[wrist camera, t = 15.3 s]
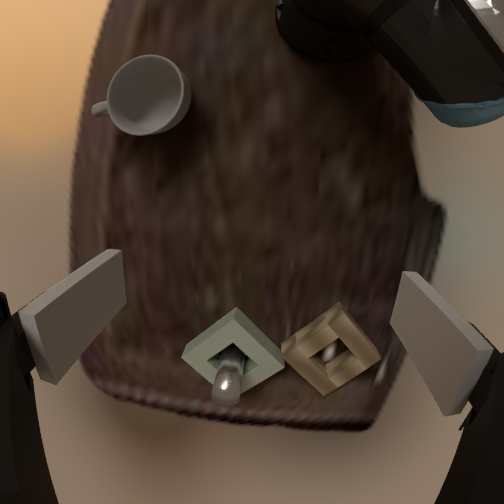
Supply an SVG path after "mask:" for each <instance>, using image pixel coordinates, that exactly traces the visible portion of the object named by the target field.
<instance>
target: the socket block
mask: <svg viewBox="0 0 504 504" xmlns="http://www.w3.org/2000/svg"><path fill="white" fill-rule="evenodd" d="M231 343H234V344H235V345H236V346H237V347H238V348H240V349H241V350H242V351H243V352H244V353H245V354H246V355H247V356H248V357H249V359H247V360H246V361H244V368H243V375H242V383H241V390H240V394H241V393H243V392H245V391H247V390H248V389H250V388H252V387H253V386H255V385H257V384H258V383H260V382H262V381H263V380H265V379H267V378H268V377H270V376H272V375H273V374H275V373H277V372H278V371H280V370H281V369H283V368H284V367H285V365H284V359H283V358H282V351H281V350H280V349H279V348H278V347H277V346H276V345H275V344H274V343H273V342H272V341H271V340H270V339H269V338H268V337H267V336H266V335H265V334H264V333H262V332H261V331H260V330H259V329H258V328H257V327H256V326H255V325H254V324H253V323H252V322H251V321H250V320H249V319H248V318H247V317H246V316H245V315H244V314H243V313H242V312H241V311H240V310H239V309H238V308H237V307H236V308H234V309H233V310H232V311H230V312H229V313H228V314H226V315H225V316H224V317H222V318H221V319H220V320H218V321H217V322H216V323H214V324H213V325H212V326H211V327H209V328H208V329H207V330H205V331H204V332H202V333H201V334H200V335H198V336H197V337H196V338H194V339H193V340H192V341H190V342H189V343H188V344H187V345H186V347H185V350H184V352H183V354H182V357H181V358H183V359H184V360H185V361H186V362H187V363H188V364H189V365H190V366H192V367H193V368H194V369H195V370H196V371H197V372H198V373H200V374H201V375H202V376H203V377H204V378H206V379H207V380H208V381H209V382H210V383H211V384H213V385H214V381H215V377H216V373H217V369H218V365H219V361H220V357H221V356H220V355H219V354H218V352H220V351H221V350H223V349H224V348H226V347H227V346H228V345H230V344H231Z"/></svg>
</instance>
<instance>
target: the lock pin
mask: <svg viewBox="0 0 504 504" xmlns="http://www.w3.org/2000/svg"><path fill="white" fill-rule="evenodd" d="M244 360H245V353H244V352H243V351H242V350H241V349H240V348H238V347H237V346H236V345H235V344H234V343H231V344H230V345H228V346H227V347H226V348H224V349H223V350H222V353H221V357H220V361H219V365H218V369H217V373H216V377H215V381H214V385H213V389H212V393H211V396H212V399H213V400H214V401H215V402H216V403H218V404H220V405H224V406H231V405H234V404H236V403H237V402H238V401H239V397H240V390H241V383H242V375H243V368H244Z"/></svg>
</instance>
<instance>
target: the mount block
mask: <svg viewBox="0 0 504 504" xmlns="http://www.w3.org/2000/svg"><path fill="white" fill-rule="evenodd" d="M337 338H340V339H341V340H342V341H343V343H344V344H345V345H346V346H347V347H348V348H349V349H348V350H346V351H345V352H343V353H342V354H341V355H339V356H338V357H336V358H335V359H333V360H332V361H330V362H329V363H327V364H325V363H324V362H323V361H322V360H321V359H320V358H319V357H318V356H317V355H316V354H315V353H317V352H318V351H320V350H321V349H323V348H324V347H326V346H327V345H329V344H330V343H332V342H333V341H334V340H336V339H337ZM281 351H282V358H283V359H284V360H285V361H286V362H288V363H289V364H290V365H291V366H292V367H293V368H294V369H295V370H296V371H297V372H298V373H299V374H300V375H301V376H303V377H304V378H305V379H306V380H307V381H308V382H309V383H310V384H311V385H312V386H313V387H315V388H316V389H317V390H318V391H319V392H320V393H321V394H322V395H323V396H325V395H327V394H328V393H330V392H332V391H333V390H335V389H336V388H338V387H340V386H341V385H343V384H344V383H346V382H348V381H349V380H351V379H352V378H354V377H355V376H357V375H358V374H360V373H361V372H363V371H364V370H366V369H367V368H369V367H370V366H372V365H373V364H375V363H376V362H378V361H379V360H380V359H381V357H380V355H379V353H378V351H377V349H376V347H375V345H374V344H373V343H372V341H371V340H370V339H369V338H368V336H367V335H366V334H365V333H364V331H363V330H362V329H361V328H360V327H359V325H358V324H357V323H356V322H355V320H354V319H353V318H352V317H351V316H350V314H349V313H348V312H347V311H346V309H345V308H344V307H343V306H342V305H341V303H340V302H338V303H337V304H335V305H334V306H333V307H331V308H330V309H329V310H327V311H326V312H325V313H323V314H322V315H320V316H319V317H318V318H316V319H315V320H314V321H312V322H311V323H309V324H308V325H307V326H305V327H304V328H302V329H301V330H299V331H298V332H297V333H295V334H294V335H292V336H291V337H289V338H288V339H287V340H285V341H284V342H282V343H281Z"/></svg>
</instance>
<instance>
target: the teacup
mask: <svg viewBox="0 0 504 504" xmlns="http://www.w3.org/2000/svg"><path fill="white" fill-rule="evenodd" d="M190 102H191V88H190V84H189V81H188V79H187V78H186V76H185V75H184V74H183V72H182V71H181V70H180V69H179V68H178V67H177V66H176V65H175V64H174V63H173V62H172V61H170V60H168V59H167V58H165V57H162V56H158V55H143V56H139V57H136V58H134V59H132V60H130V61H128V62H127V63H125V64H124V65H123V66H122V67H121V68H120V69H119V70H118V71H117V72H116V74H115V75H114V77H113V78H112V80H111V82H110V85H109V88H108V93H107V101H104V102H100V103H97V104H95V105H93V106H92V115H93V116H94V117H105V116H110V117H111V119H112V121H113V123H114V124H115V125H116V126H117V127H118V128H119V129H120V130H122V131H124V132H126V133H128V134H131V135H138V136H142V135H149V134H157V133H162V132H165V131H167V130H169V129H171V128H173V127H174V126H176V125H177V124H178V123H179V122H180V121H181V120H182V119H183V118H184V116H185V115H186V113H187V111H188V109H189V106H190Z"/></svg>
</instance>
